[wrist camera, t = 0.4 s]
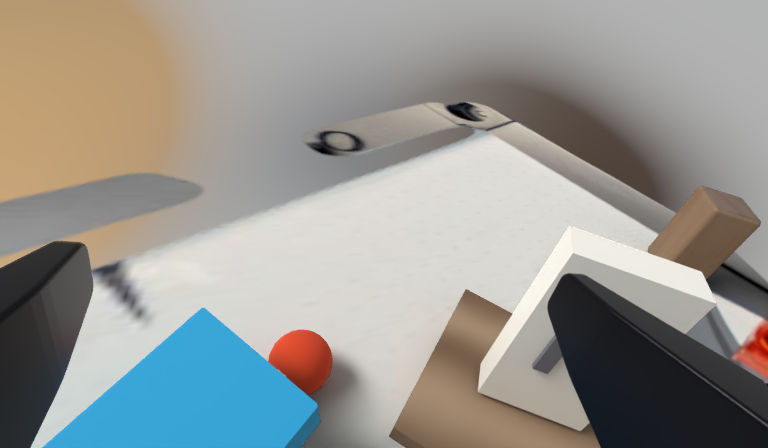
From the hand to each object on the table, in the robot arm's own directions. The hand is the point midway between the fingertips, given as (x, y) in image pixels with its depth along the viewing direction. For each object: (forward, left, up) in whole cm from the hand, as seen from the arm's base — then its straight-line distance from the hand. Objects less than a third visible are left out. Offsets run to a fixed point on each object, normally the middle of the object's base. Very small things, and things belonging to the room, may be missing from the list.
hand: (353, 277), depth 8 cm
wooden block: (+13, -38, -17) cm, 43 cm away
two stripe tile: (+3, -14, -15) cm, 21 cm away
